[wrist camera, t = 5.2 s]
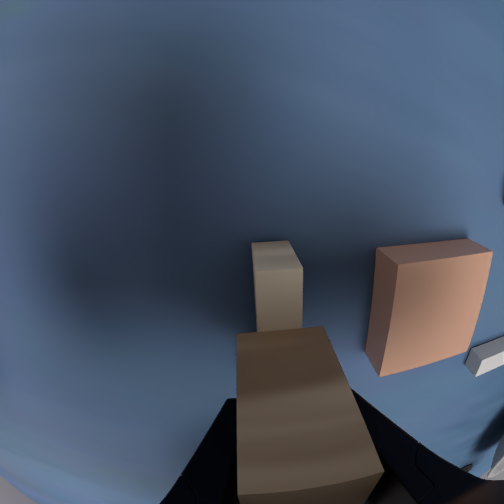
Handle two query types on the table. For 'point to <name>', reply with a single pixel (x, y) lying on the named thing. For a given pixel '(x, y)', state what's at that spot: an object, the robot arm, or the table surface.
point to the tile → (425, 302)
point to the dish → (497, 460)
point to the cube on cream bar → (295, 401)
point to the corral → (486, 357)
